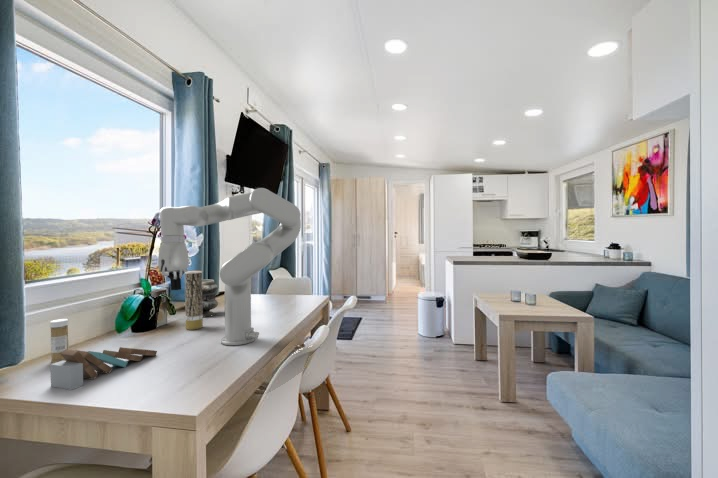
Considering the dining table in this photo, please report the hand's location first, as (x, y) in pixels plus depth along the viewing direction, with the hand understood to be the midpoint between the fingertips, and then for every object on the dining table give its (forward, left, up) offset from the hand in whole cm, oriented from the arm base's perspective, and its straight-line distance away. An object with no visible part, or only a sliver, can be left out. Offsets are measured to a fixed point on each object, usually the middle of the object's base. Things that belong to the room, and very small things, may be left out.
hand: (176, 289), depth 129 cm
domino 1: (0, +31, -20) cm, 37 cm away
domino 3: (0, +22, -20) cm, 29 cm away
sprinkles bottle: (+24, +24, -21) cm, 40 cm away
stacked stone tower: (+26, -43, -21) cm, 54 cm away
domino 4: (0, +16, -20) cm, 26 cm away
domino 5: (0, +11, -20) cm, 23 cm away
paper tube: (+12, -21, -21) cm, 32 cm away
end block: (0, +37, -21) cm, 42 cm away
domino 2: (0, +27, -20) cm, 33 cm away
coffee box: (+33, -19, -21) cm, 43 cm away
